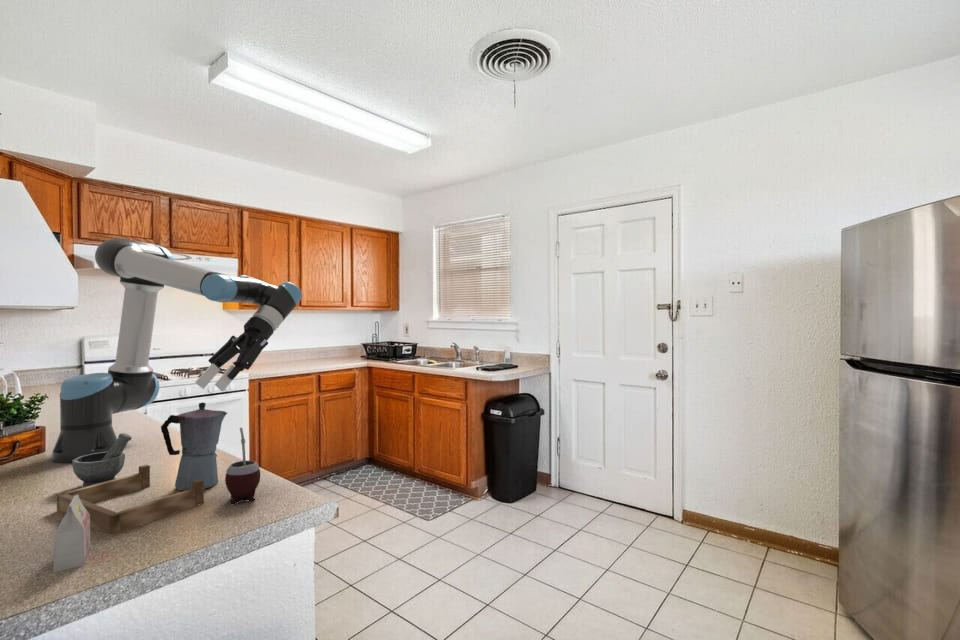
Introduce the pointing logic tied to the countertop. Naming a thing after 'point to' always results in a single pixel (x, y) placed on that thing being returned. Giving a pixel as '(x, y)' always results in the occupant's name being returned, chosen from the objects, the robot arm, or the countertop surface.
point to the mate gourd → (242, 477)
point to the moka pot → (196, 445)
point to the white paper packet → (72, 537)
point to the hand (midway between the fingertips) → (209, 386)
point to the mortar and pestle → (101, 463)
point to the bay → (131, 516)
